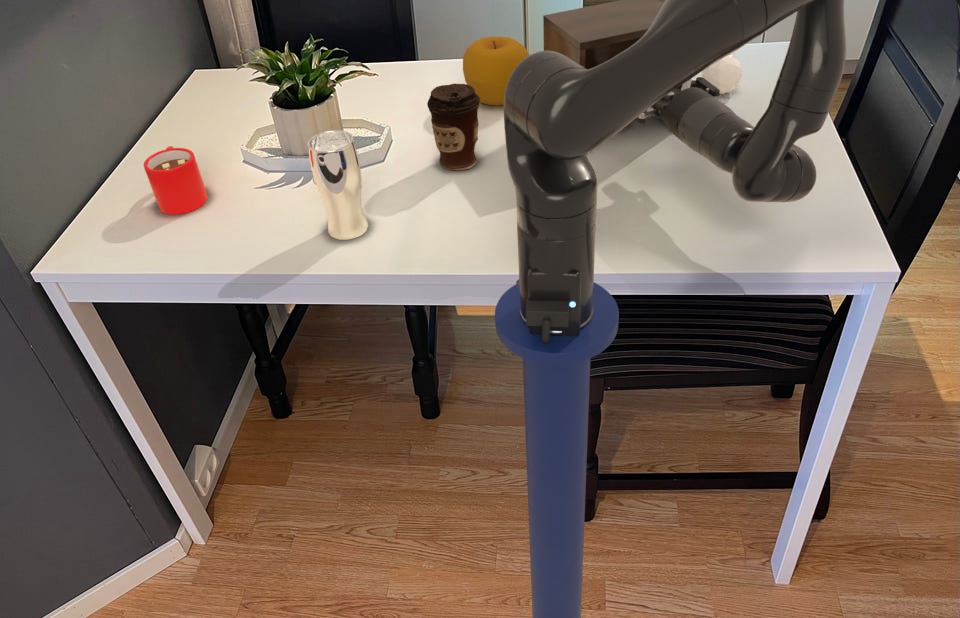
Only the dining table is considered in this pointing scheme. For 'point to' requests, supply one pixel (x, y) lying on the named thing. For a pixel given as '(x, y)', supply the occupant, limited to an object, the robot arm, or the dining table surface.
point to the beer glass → (338, 182)
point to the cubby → (598, 30)
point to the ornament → (724, 74)
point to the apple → (492, 66)
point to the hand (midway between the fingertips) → (646, 82)
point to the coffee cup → (455, 124)
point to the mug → (176, 180)
